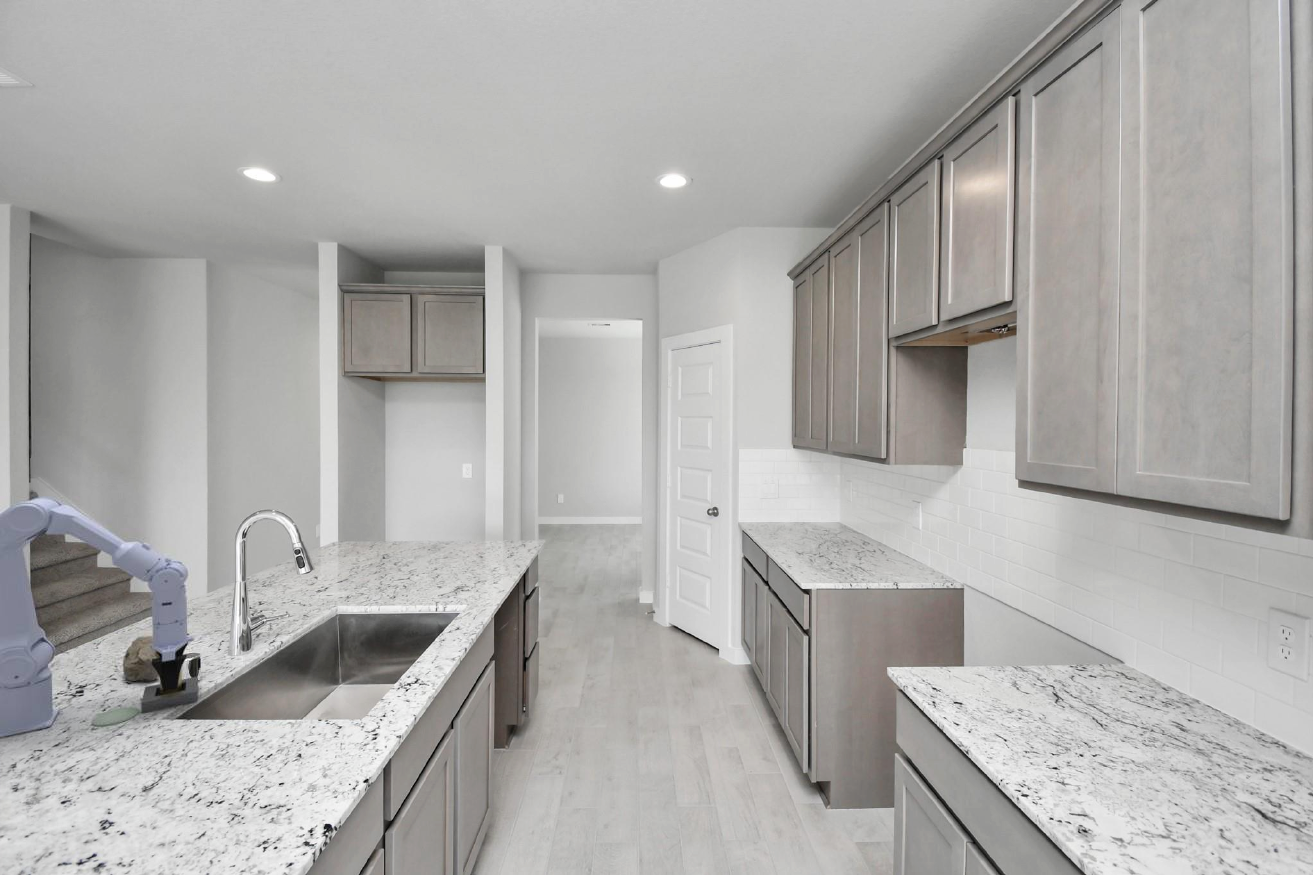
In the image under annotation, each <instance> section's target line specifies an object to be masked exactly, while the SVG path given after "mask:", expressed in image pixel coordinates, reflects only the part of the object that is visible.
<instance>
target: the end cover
mask: <svg viewBox="0 0 1313 875" xmlns="http://www.w3.org/2000/svg"><path fill="white" fill-rule="evenodd" d="M182 674H183V673H182V668H181V670H180V675H179V681H178V686H177V689H175V690H170V691H165V692H164V691H163V688H162V685H161V681H160V680H159V684H160V695H165V694H170V693H174V692H179V691H182V680H183V679H182Z"/></svg>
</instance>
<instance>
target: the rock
mask: <svg viewBox="0 0 1313 875" xmlns="http://www.w3.org/2000/svg"><path fill="white" fill-rule="evenodd" d="M152 643H153V635H148V636H138V637H136V639H134V640H133V641H131V645H129V647H128V648H127V649H126V651H125V654H124V656H123V659H122V667H123V669H122V670H123V675H124V677H125V678H126V679H127V680H128V681H131V682H136V681H143V682H151V681H154V680H157V679H158V678H159V675H158V673H157V671H156V669H155V668H154V667H153V666H152V664H151V661H152V659H155V658H160V657H159V655H158V653H157V652H156V651H155V650H154V649H152Z"/></svg>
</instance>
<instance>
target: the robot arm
mask: <svg viewBox="0 0 1313 875" xmlns="http://www.w3.org/2000/svg"><path fill="white" fill-rule="evenodd" d="M45 531H46V532H45ZM43 532H45V535H69V536H72V537H74V538H76V539H78V540H80V541H82V542H83V543H86V544H87V545H90V546H92V547H93V548H96V549H98V550H99V551H102V552H103V553H105V554H108V555H109V556H110V557H111V560H112V565H113V566H114V567H117V568H118V569H120V570H122V571H123V572H125V573H127V574H129V575H131V576H133V577H134V578H136V579H138V580H140V581H142V582H146V583H147V587H148V588H149V591H151V593H152V602H151V609H152V611H151V614H152V615H151V616H152V618H151V619H152V620H151V621H152V636H153V643H152V649H154V650H155V651H156V652H157V653H158V655H159V657H160V658H155V659H152V661H151V664H152V666H153V667H154V668H155V669H156V671H157V673H158V678H159V682H160V681H161V685H162V688H163V691H164V692H165V691H170V690H175V689H177V686H178V681H179V675H180V670H181V669H182V667H183V664H184V663H185V661H186V659H187V656H188V655H187V654H184V653H185V650H186V648H187V646H188V644H189V643H191V642H194V641H195V636H194V635H188V608H187V607H188V603H187V602H188V601H187V600H188V598H187V595H186V592H187V589H186V584H185V582H186V581H187V579H188V576H189V571H188V568H187V567H186V566H185V564H183V563H182V562H181V561H178V560H173V558H171V557H170V556H167V557H165V556H163V555H162V554H160V553H159V552H157V551H155V550H153V549H151V548H150V547H151V546H152V545H151V544H149V543H148V542H143V543H141V542H139V541H127V542H126V541H124V540H122V539H121V538H120V537H118V536H116V535H115V534H114V533H112V532H110V531H109V530H107V529H105V528H104V527H102V526H101V525H100V524H98V523H96V522H95V521H93V520H91V519H90V518H88V517H87V516H86V515H84V514H82V513H80V511H78V510H77V509H75V508H73V507H72V506H69V505H67V504H62V502H60V501H59V500H58V499H56V498H53V497H48V496H40V497H35V498H32V499H31V500H28V501H23V502H18V503H14V504H12V505H11V506H9V507H8V508H7V509H6V510H4V511H3V512H2V513H0V738H4V737H8V736H14V735H17V734H23V733H26V732H27V733H28V732H31V731H36V730H40V729H45V728H46V729H47V728H49V727H52V726H53V723H54V721H55V720H56V718H57V716H58V715H59V714H58V713H59V712H60V710H59V708H56V709H53V708H54V707H53V672H52V670H51V669H50V667H49V664H50V663H52V661H53V660H54V659H55V656H56V647H55V646H54V644H53V643H52V642H50V641H49V639H48V638H47V636H46V635H47V634H46V631H45V630H44V629H43V628H42V627H40V626H39V622H38V617H37V613H36V608H35V603H34V598H33V593H32V588H31V583H30V579H29V578H30V577H29V573H28V568H27V567H28V566H27V564H26V557H25V553H24V548H25V547H26V546H27V545H29V544H30V543H31V542H32V541H33V540H34V539H35V538H37V536H38V535H39V534H41V533H43Z"/></svg>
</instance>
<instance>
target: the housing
mask: <svg viewBox="0 0 1313 875" xmlns="http://www.w3.org/2000/svg"><path fill="white" fill-rule="evenodd" d="M198 693H199V676H193V677H188V678H183V679H182V691H179V692H174V693H170V694H165V695H160V683H157V684H154V685H148V686H145V687H144V690H143V694H142V698H141V705H140V706H141V715H142V714H146V713H150V712H155V711H160V710H164V709H168V708H174V707H177V706H181V705H187V704H190V703H192V704H193V703H197V702H198V696H199V694H198Z"/></svg>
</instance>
